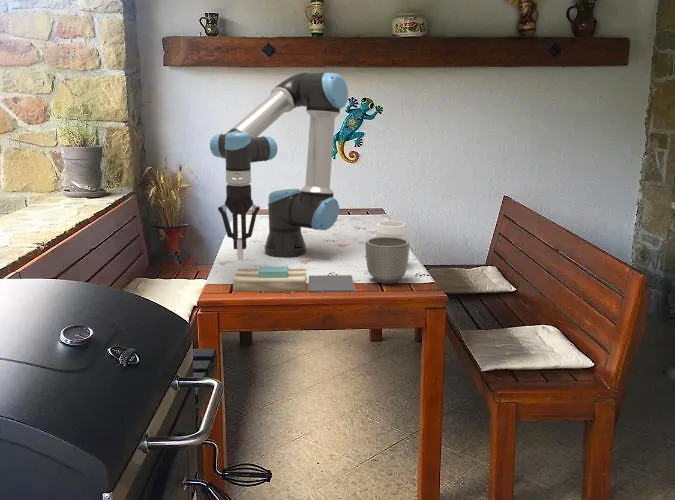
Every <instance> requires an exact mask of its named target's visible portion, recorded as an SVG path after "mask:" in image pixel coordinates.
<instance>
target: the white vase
mask: <svg viewBox="0 0 675 500" xmlns="http://www.w3.org/2000/svg"><path fill="white" fill-rule="evenodd" d="M376 224H377V225H376V229H375V237H398V238H403V239H406V240H408V239H407V238H408V229H407V224H406V223H405V222H404V221H399V220H383V221H382V220H381V221H378V222H377V223H376Z"/></svg>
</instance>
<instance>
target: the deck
mask: <svg viewBox="0 0 675 500" xmlns="http://www.w3.org/2000/svg"><path fill="white" fill-rule="evenodd" d="M258 271H259V268H238V269H237V270H236V272H235V275H234V278H233V280H232V291H233V292H305V291H306V284H307V283H306V282H307V281H306V280H307V279H306V278H307V272H306V271H307V268H288V278H259V277H258Z"/></svg>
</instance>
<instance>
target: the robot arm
mask: <svg viewBox="0 0 675 500" xmlns="http://www.w3.org/2000/svg"><path fill="white" fill-rule="evenodd" d="M348 100H349V91H348V85H347V82H345V78H343V77H342V75H340V74H338V73H333V72H301V73H296V74H294V75H292V76H289V77H288V78H286V79H285V80H283V81H282V82H280V83H278V85H276V86H275V87H274V88H273V89H271V91H270V95H269V96H268V97H267V98H265V99H264V100H263V101H262V102H261V103H260V104H258V105H257V106H256V107H255V108H254V109H253V110H252V111H251V112H249V113H248V114H247V115H246V116H245V117H244V118H243V119H241V120H240V121H239V122H238V123H237V124H235V125H234V126H233V127H232V128H231V129H229V130H228V131H227V132H226V133H225V134H223V133H218V134H215V135H213V136H212V137H211V139H210V142H209V150H210V152H211V154H212V155H213V156H214V157H216V158H222V159H223V160H224V159H225V183H226V185H225V189H226V190H225V192H226V193H225V194H226V196H225V197H226V199H225V201H224V203H223V204H221V205H220V206H218V207H217V210H218V212H219V213H220V214H221V218H222V222H223V226H224V228H225V233H226V236H227V237H228V238H231V239H232V240H233V249H234V250H237V252H236V253H237V254H236V257H237V261H243V260H244V250H246V248H247V239H249V238H251V237H252V235H253V232H254V227H255V223H256V219H257V214H258V213H259V211H260V209H261V206H260V205H256V204H255V203H254V200H253V198H252V185H251V184H250V183H252V168H251V167H252V165H251V163H258V162H267V161H271V160H273V159H274V158H275V157H276V156H277V154H278V144H277V142H276V140H275V139H274V138H273V137H271V136H265V135H264V136H263V135H262V136H261V134H262V133H263V132H265V131H266V130H267V129H268V128H269V127H270V126H272V124H274V123H275V122H276V121H277V120H278V119H279V118H280V117H282V115H283V114H285V113H290V112H292V110H294V109H296V108H299V107H304V108H305V107H306V110H305V111H306V113H307V114H308V115H309V128H308V129H309V131H308V143H307V160H306V171H305V172H306V175H305V185H304V186H303V187H302V188H301V189H300V188H287V189H279V190H274V191H271V192H270V193H269V195H268V203H267V205H268V206H267V207H268V208H267V209H268V235H267V239H266V241H265V245H264V253H265V255H268V256H272V257H276V258H277V257H278V258H279V257H281V258H289V257H290V258H291V257H297V256H301V255H304V254H305V253H307V252H306V251H307V245H306V241H305V239H304V237H303V234H302V228H304V229H311V230H315V231H319V230H320V231H327V230H329V229H331V228H332V227H333V226H334V224H335V223H336V222H337V220H338V217H339V214H340V204H339V201H338V199H335V197H334V190H333V189H331V186H330V185H331V176H332V175H331V174H332V173H331V172H332V161H333V151H334V150H333V147H334V134H335V121H336V118H337V117H338V116H340V114H341V113H340V112H341V109H342V108H344V107H345V106H346V103H347V102H348ZM227 209H228V210H229V212H230V213H231V214H232V229H231V224H230V222H229V217H228V214H227ZM250 209H251V212H252V214H251V218H250V223H249V226H248V231H247V214H248V212H249V210H250ZM239 215H240V220H241V221H240V223H241V224H240V226H241V228H240V230H241V237H239V233H238V232H239V228H238V227H239V226H238V225H239V224H238V221H239V220H238V217H239Z"/></svg>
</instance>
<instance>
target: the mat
mask: <svg viewBox="0 0 675 500" xmlns="http://www.w3.org/2000/svg"><path fill="white" fill-rule="evenodd" d="M307 291H308V292H309V293H319V292H320V293H323V292H324V293H325V292H329V293H331V292H333V293H334V292H335V293H337V292H339V293H340V292H349V293H350V292H355V287H354V280H353V276H352V274H351V275H349V274H348V275H347V274H346V275H343V274H342V275H341V274H339V275H338V274H337V275H329V274H326V275H325V274H324V275H323V274H322V275H309V276H308V290H307Z"/></svg>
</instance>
